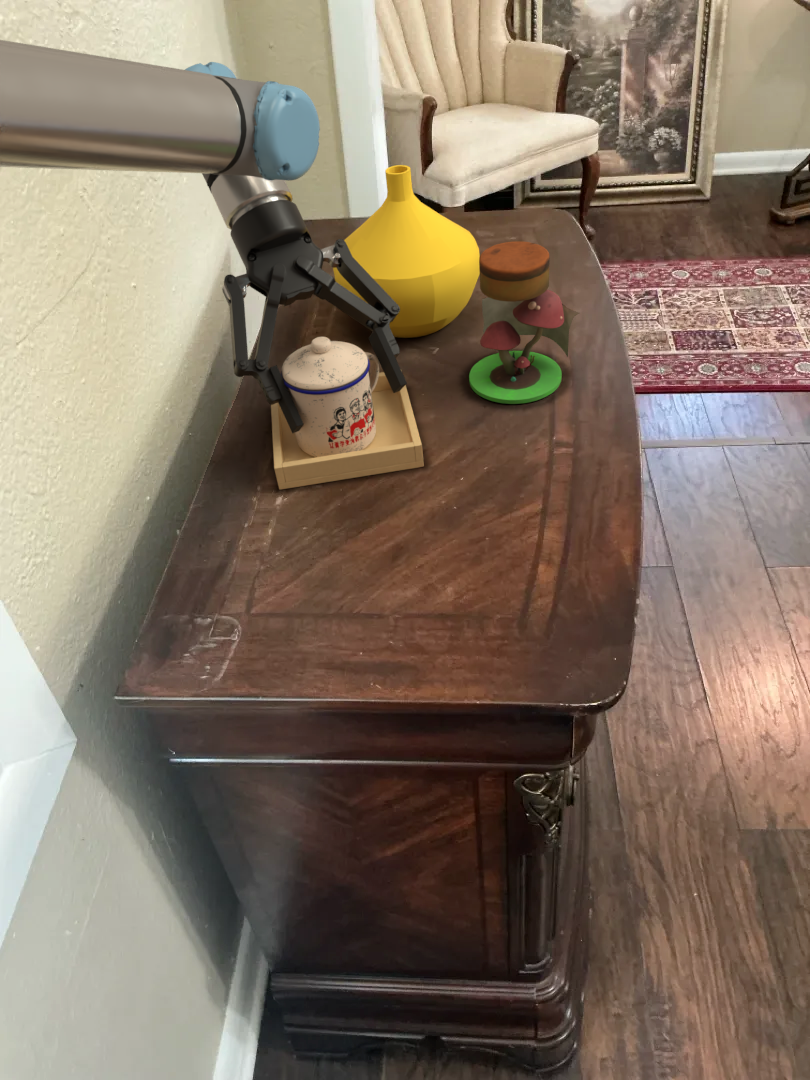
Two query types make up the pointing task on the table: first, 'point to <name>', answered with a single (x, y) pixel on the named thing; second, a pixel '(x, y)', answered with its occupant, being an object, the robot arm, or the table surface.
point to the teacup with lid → (332, 396)
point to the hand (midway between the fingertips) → (350, 408)
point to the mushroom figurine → (518, 324)
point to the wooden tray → (384, 454)
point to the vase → (415, 259)
